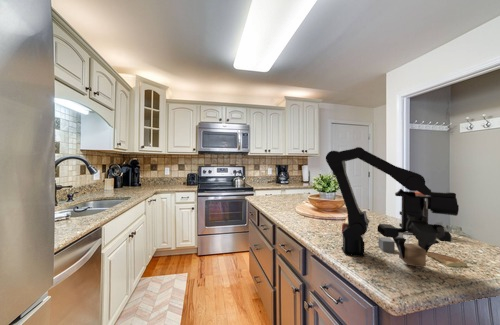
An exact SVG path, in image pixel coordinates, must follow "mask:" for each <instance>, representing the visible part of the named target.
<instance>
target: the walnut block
mask: <svg viewBox="0 0 500 325" xmlns="http://www.w3.org/2000/svg"><path fill="white" fill-rule="evenodd" d="M404 247H405V256H404V258H402V257H401V255H400V253H398V254H399V256H398V258H399V259H400V260H402V261H403V262H404V263H405V264H406V265H408V266H417V267H426V266H427V255H426V250H425V249H423V248H421V247H420V246H418V243H417V244H416V243H406V242H405V243H404Z"/></svg>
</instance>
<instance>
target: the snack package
mask: <svg viewBox="0 0 500 325" xmlns="http://www.w3.org/2000/svg"><path fill="white" fill-rule="evenodd" d="M348 225H349V224H348V214H347V216H346V218H345V219H344V221H343V223H342V224H341V233H342V232H343V231H344V229H345V228H346V226H348Z"/></svg>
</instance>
